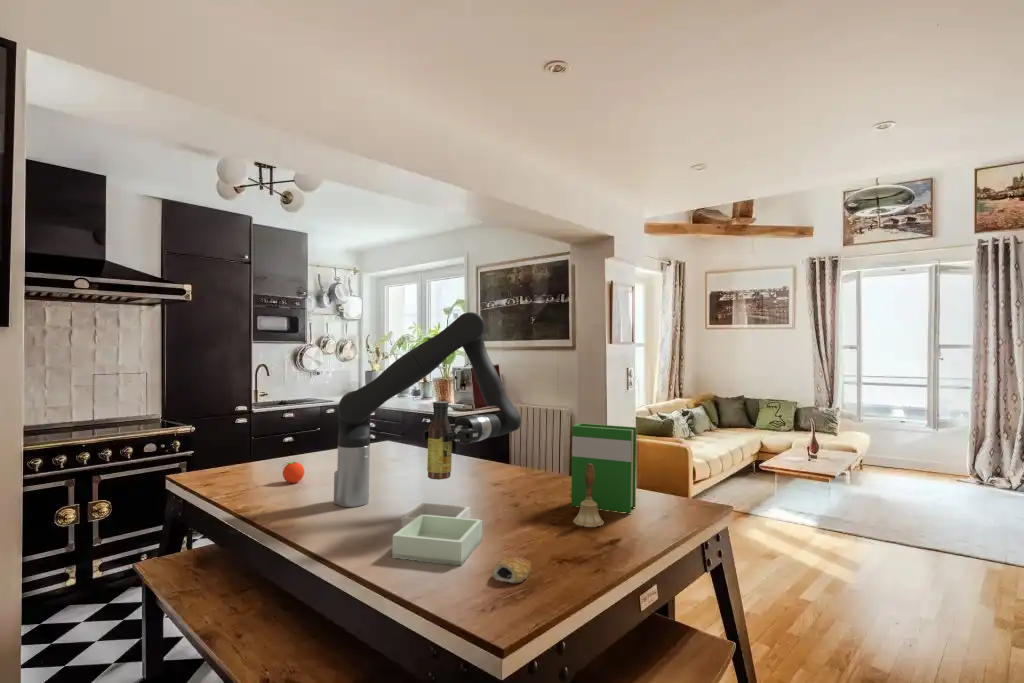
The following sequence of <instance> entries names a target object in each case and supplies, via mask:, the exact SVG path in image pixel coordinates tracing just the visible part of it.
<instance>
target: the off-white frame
mask: <svg viewBox="0 0 1024 683" xmlns="http://www.w3.org/2000/svg"><path fill="white" fill-rule="evenodd" d="M421 514H423V515H434V516H445V517H457V518H468V519H469V518H470V519H471V506H465V505H464V506H462V505H454V504H453V505H450V504H439V503H428V502H422V503H421V504H420V505H418V506H416V508H414V509H412V510H411V511H410V512H409V513H407V514H405V515H404V516H402V517H401V529H402V528H403V527H405V526H406V525H407V524H409V523H410V522H411V521H413V520H414V519H415V518H417V517H418V516H419V515H421Z"/></svg>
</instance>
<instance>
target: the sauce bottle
mask: <svg viewBox="0 0 1024 683" xmlns="http://www.w3.org/2000/svg"><path fill="white" fill-rule="evenodd" d="M432 407H433V416H432V418H433V419H432V421H431V423H430V424H429V427H428V428H429V437H428V439H427V467H426V468H427V469H426V470H427V478H429V479H431V480H446V479H449V478H450V477H451V473H452V458H453V457H452V452H453V441H450V442H443V434H444V433H449V432H452V430H451V427H450V422H449V412H448V408H449V401H433V402H432Z"/></svg>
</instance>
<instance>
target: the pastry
mask: <svg viewBox="0 0 1024 683" xmlns="http://www.w3.org/2000/svg"><path fill="white" fill-rule="evenodd" d="M532 566H533V565H532V562H531V561H530V560H529V559H527V558H524V557H523V556H522V557H521V556H512V557H504V558H502V559H500V560H498V562H497V563H496V564H495V567H494V569H493V570H492V571H491V576H492V577H493V579H494V578H496V579H497V580H496V579H495V580H496V581H498V580H500V581H499V582H502V581H505V582H504V583H508V582H509V584H520V583H522V582H524V580H527V579H528V577H529V575H530V574H531V572H532Z"/></svg>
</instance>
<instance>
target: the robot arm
mask: <svg viewBox="0 0 1024 683" xmlns="http://www.w3.org/2000/svg"><path fill="white" fill-rule="evenodd" d="M484 321H485V320H484V319H483V317H482V316H481V315H480V314H479V313H476V312H472V311H470V312H469V311H468V312H465V313H462V314H461V315H459V316H458V317H457V318H455V320H454V321H452V322H451V323H450V324H449V325H448V326H446V327H445V328H444V329H443V330H442V331H440V332H438V333H437V334H436V335H434V336H432V337H431V338H428V339H427V340H425V341H423V342H422V343H420V344H418V345H417V346H415V347H414V348H412V349H410V350H409V351H408V352H406V353H404V354H403V355H402V356H400V357H399V358H398V359H396V360H395V361H394V362H393V363H392V362H391V364H390V365H389V366H387V368H385V369H384V371H382V372H381V373H380V374H379V375H378V376H377V377H376V378H374V379H373V380H372V381H370V382H369V383H366V384H364V385H363V386H362V387H360V388H358V389H355V390H351V391H348V392H347V393H345V394H344V395H343V396H341V398H340V400H339V402H338V406H337V407H338V408H337V410H338V429H337V430H338V433H337V434H338V435H337V464H336V465H337V466H336V467H337V469H336V470H335V471H334V473H333V474H334V475H333V504H334V505H337V506H339V507H344V508H345V507H347V508H349V507H350V508H352V507H353V508H354V507H360V506H364V505H367V504H368V503H369V501H370V457H371V456H370V455H371V454H370V452H371V451H370V450H371V449H370V448H371V447H370V446H371V415H372V414H374V412H375V411H376V410H377V409H379V408H380V407H381V406H382V405H383V404H385V403H386V402H387V401H389V400H390V399H393V397H395V396H397V395H399V394H401V393H402V392H404V391H405V390H408V389H409V388H410V387H412V386H413V385H416V384H417V383H418V382H420V381H422V379H425V378H426V377H427V376H428V375H430V374H431V373H432V372H433V371H435V370H436V369H437V368H438V367H439V366H440V365H441V364H442V363H443V362H444V361H445V360H446V359H448V357H450V356H451V355H452V354H453V353H454V352H456V351H458V350H459V349H461V348H462V349H463V351H464V352H465V354H466V356H467V358H468V360H469V363H470V365H471V367H472V370H473V373H474V376H475V378H476V382H477V385H478V388H479V391H480V393H481V395H482V398H483V401H484V403H485V405H486V406H487V407H491V408H492V407H497V408H498V409H499V410H500V411H498V412H497V413H483V414H473V415H469V416H462V417H459V418H457V419H455V421H454V422H453V423H452V424H450V423H449V424H450V427H451V430H452V432H449V433H444V434H443V442H450V441H452V442H453V441H454V442H458V443H459V444H460V445H467V444H468V445H469V444H473V443H476V442H480V441H484V440H486V439H490V438H496V437H501V436H504V435H507V434H509V433H513V432H515V431H517V430H519V429H520V427H521V424H522V418H521V415H520V413H519V411H518V410H517V408H516V407H515V405H514V404H513V403H512V401H511V399H509V397H508V395H507V394H506V392H505V389H504V386H503V383H502V381H501V379H500V376H499V374H498V371H497V370H496V368H495V366H494V364H493V362H492V361H491V358H490V356H489V353H488V352H487V348H486V345H485V341H484V336H483V334H484V333H485V332H484V331H485V322H484ZM428 437H429V427H428V428H427V430H424V431H423V432H422V439H423V440H425V441H426V440H427V441H428Z"/></svg>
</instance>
